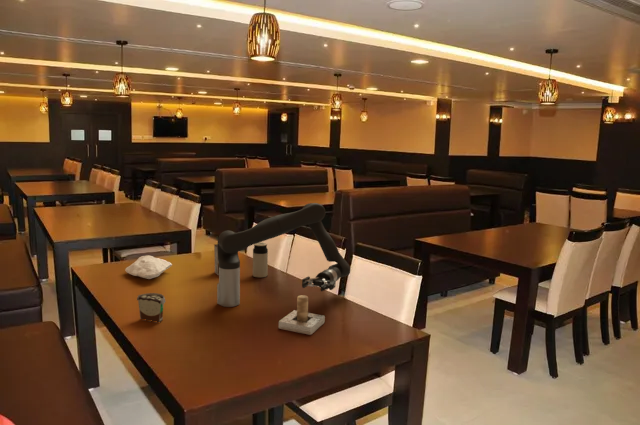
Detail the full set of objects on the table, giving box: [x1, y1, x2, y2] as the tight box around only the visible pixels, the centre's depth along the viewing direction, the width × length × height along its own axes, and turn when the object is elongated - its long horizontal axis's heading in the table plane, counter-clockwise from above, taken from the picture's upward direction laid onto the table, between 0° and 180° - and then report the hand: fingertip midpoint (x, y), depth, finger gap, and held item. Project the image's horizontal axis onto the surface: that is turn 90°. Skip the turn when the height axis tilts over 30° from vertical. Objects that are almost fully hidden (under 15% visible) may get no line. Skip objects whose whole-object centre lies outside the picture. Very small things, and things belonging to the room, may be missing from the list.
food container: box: [136, 292, 166, 323], centre depth 195 cm, size 12×6×10 cm, turn 71°
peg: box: [296, 294, 309, 323], centre depth 193 cm, size 4×4×12 cm
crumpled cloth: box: [124, 255, 173, 280], centre depth 255 cm, size 24×35×9 cm
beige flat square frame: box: [278, 309, 326, 336], centre depth 193 cm, size 14×14×3 cm
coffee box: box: [213, 243, 219, 276], centre depth 263 cm, size 9×6×16 cm
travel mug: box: [252, 241, 269, 278], centre depth 259 cm, size 8×8×18 cm
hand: (312, 287), depth 203 cm, fingers open, 8 cm apart
